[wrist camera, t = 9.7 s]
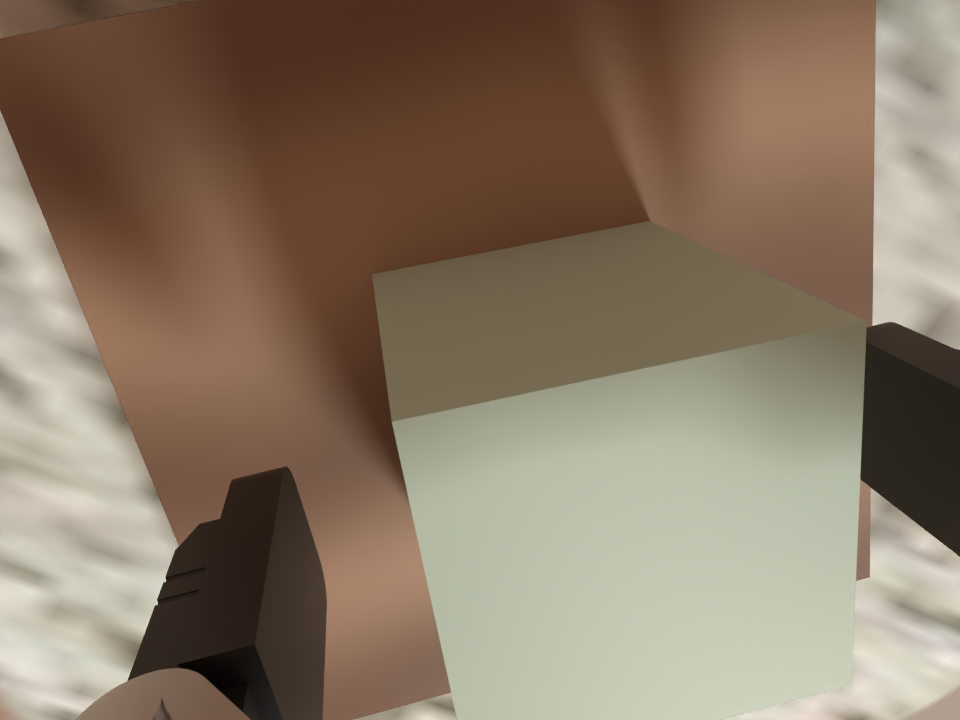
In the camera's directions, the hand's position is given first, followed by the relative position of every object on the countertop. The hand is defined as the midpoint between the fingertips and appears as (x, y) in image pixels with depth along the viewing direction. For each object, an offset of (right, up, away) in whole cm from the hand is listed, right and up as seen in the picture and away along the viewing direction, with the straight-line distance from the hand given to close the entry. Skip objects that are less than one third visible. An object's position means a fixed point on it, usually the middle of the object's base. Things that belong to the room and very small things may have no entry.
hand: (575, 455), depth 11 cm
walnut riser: (-1, +3, +7) cm, 7 cm away
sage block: (0, +1, +3) cm, 3 cm away
